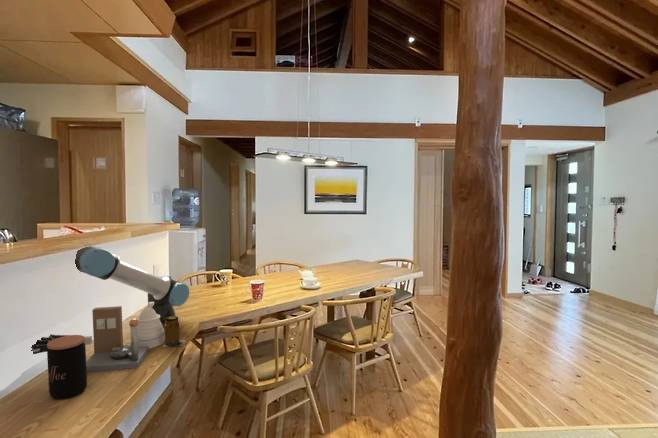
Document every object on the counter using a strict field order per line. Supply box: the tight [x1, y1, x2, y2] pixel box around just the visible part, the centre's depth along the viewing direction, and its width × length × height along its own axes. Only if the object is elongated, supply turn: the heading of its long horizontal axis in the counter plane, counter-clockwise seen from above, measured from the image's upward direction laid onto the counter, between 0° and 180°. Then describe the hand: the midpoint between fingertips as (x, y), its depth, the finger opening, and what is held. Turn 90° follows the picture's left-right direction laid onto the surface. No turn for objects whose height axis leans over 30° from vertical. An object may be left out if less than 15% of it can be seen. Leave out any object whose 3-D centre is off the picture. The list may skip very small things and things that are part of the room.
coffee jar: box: [46, 334, 88, 401], centre depth 130 cm, size 11×11×18 cm
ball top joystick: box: [111, 318, 138, 361], centre depth 153 cm, size 12×10×16 cm
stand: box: [86, 305, 150, 373], centre depth 154 cm, size 16×20×20 cm
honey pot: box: [135, 302, 165, 349], centre depth 172 cm, size 13×13×18 cm
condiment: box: [161, 315, 187, 348], centre depth 172 cm, size 7×8×12 cm
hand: (91, 340), depth 145 cm, fingers closed
